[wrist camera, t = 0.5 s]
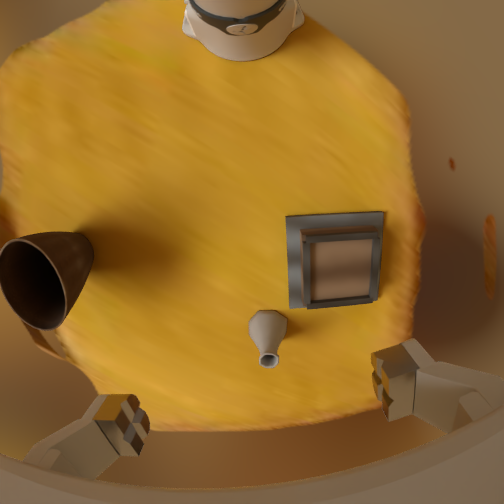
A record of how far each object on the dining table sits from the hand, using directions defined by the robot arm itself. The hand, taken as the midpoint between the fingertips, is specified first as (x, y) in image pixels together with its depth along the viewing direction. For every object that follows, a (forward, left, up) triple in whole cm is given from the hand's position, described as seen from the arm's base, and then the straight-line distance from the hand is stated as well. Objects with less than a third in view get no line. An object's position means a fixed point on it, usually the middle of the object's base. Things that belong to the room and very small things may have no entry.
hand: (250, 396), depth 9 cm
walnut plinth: (+12, +12, -40) cm, 43 cm away
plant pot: (+7, -34, -40) cm, 53 cm away
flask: (+24, 0, -40) cm, 47 cm away
